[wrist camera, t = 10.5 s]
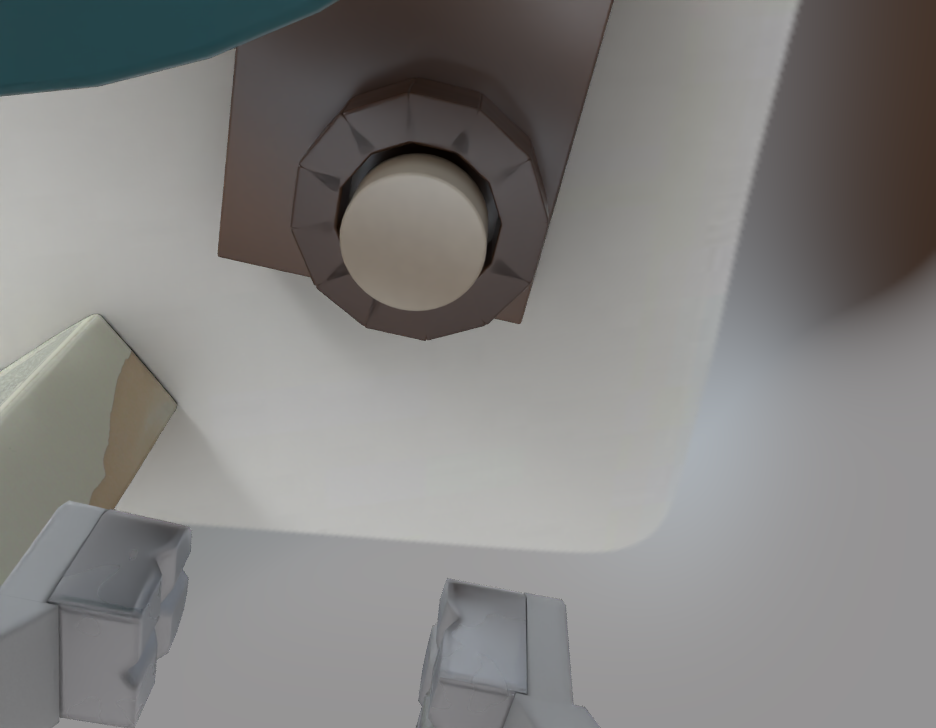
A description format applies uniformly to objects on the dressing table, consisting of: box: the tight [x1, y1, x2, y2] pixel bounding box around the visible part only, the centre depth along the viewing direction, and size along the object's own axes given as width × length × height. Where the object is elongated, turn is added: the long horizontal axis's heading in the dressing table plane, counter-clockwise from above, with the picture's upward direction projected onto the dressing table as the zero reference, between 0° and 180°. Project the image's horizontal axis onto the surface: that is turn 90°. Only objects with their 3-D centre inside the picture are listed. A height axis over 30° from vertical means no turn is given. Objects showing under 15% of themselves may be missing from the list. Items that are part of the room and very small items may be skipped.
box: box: [0, 314, 177, 587], centre depth 25 cm, size 5×4×11 cm
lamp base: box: [218, 0, 614, 341], centre depth 23 cm, size 12×9×4 cm
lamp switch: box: [340, 153, 489, 311], centre depth 22 cm, size 4×4×2 cm
